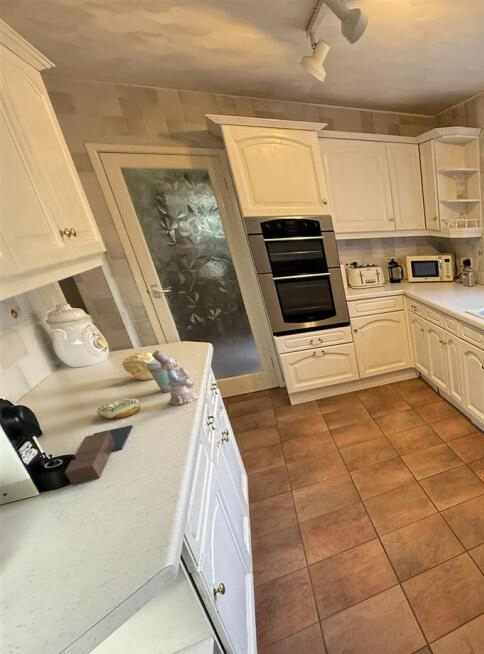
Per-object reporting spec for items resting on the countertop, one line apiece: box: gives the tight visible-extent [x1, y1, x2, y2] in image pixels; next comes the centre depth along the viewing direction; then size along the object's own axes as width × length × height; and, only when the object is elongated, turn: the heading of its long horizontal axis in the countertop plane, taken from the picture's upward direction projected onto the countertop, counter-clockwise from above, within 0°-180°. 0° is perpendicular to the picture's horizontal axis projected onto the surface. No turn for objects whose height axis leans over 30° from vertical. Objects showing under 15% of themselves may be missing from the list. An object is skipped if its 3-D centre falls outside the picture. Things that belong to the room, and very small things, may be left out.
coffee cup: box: [146, 358, 178, 393], centre depth 149 cm, size 9×8×12 cm
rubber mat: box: [92, 424, 133, 453], centre depth 116 cm, size 16×9×1 cm, turn 33°
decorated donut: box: [96, 398, 141, 420], centre depth 132 cm, size 10×11×4 cm
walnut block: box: [64, 431, 115, 486], centre depth 105 cm, size 4×5×19 cm
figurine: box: [152, 350, 199, 406], centre depth 137 cm, size 9×8×20 cm
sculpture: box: [121, 351, 155, 381], centre depth 161 cm, size 11×12×11 cm
